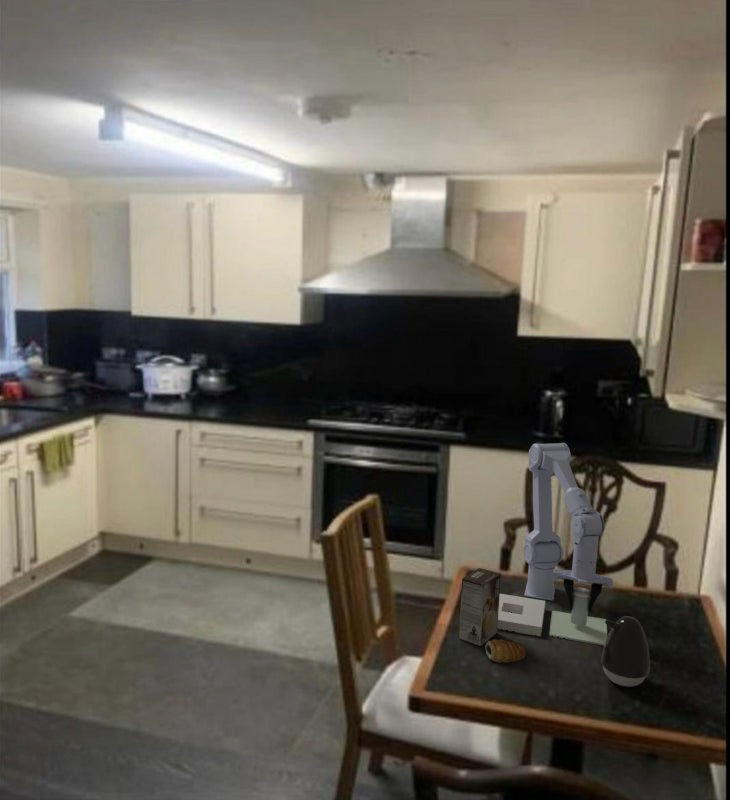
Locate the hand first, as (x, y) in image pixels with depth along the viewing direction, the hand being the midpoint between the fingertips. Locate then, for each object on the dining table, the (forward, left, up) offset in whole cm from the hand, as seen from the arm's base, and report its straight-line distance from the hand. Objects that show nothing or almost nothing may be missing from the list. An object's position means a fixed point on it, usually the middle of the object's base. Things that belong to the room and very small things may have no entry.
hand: (580, 608), depth 183 cm
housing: (0, -17, -5) cm, 18 cm away
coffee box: (+13, -24, -6) cm, 28 cm away
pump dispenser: (+22, +10, -6) cm, 25 cm away
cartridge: (0, 0, -4) cm, 4 cm away
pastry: (+21, -17, -6) cm, 28 cm away
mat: (0, 0, -5) cm, 5 cm away
